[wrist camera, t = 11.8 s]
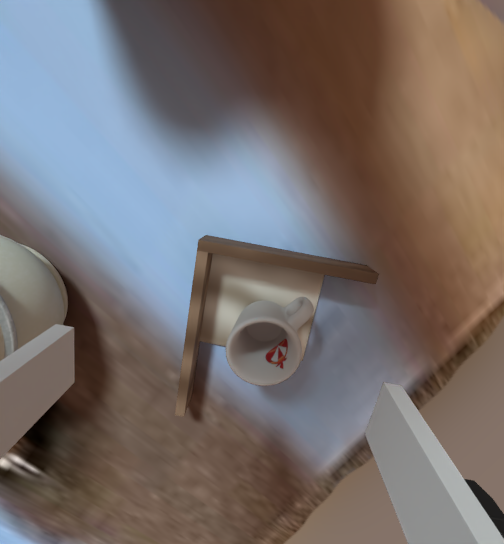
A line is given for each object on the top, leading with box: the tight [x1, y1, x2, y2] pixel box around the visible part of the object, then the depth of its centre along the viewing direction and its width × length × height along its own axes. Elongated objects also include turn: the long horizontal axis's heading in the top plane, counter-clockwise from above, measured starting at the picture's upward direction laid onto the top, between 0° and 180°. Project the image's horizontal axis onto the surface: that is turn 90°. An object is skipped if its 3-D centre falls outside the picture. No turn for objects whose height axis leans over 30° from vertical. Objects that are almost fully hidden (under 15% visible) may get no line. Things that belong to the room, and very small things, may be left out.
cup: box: [226, 297, 314, 386], centre depth 34 cm, size 11×8×8 cm
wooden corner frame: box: [175, 235, 379, 417], centre depth 37 cm, size 23×20×4 cm
